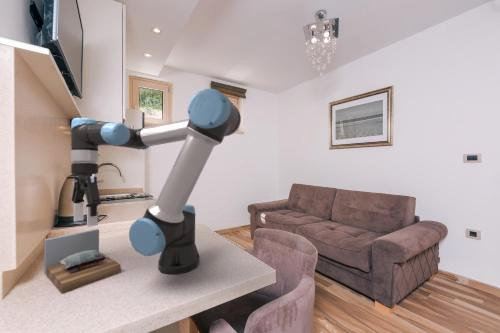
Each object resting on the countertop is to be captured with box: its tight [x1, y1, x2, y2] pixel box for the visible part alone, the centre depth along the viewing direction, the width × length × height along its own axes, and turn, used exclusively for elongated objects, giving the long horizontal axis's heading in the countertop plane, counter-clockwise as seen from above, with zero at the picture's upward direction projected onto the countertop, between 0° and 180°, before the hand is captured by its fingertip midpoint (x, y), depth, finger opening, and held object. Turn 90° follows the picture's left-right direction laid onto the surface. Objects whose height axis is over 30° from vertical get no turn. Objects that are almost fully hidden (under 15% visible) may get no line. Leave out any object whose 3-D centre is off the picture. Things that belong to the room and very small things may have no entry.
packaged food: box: [59, 250, 107, 271], centre depth 74 cm, size 9×12×5 cm
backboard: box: [43, 228, 100, 276], centre depth 81 cm, size 2×16×12 cm, turn 144°
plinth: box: [46, 252, 121, 295], centre depth 74 cm, size 18×16×3 cm
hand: (85, 223), depth 74 cm, fingers open, 13 cm apart
